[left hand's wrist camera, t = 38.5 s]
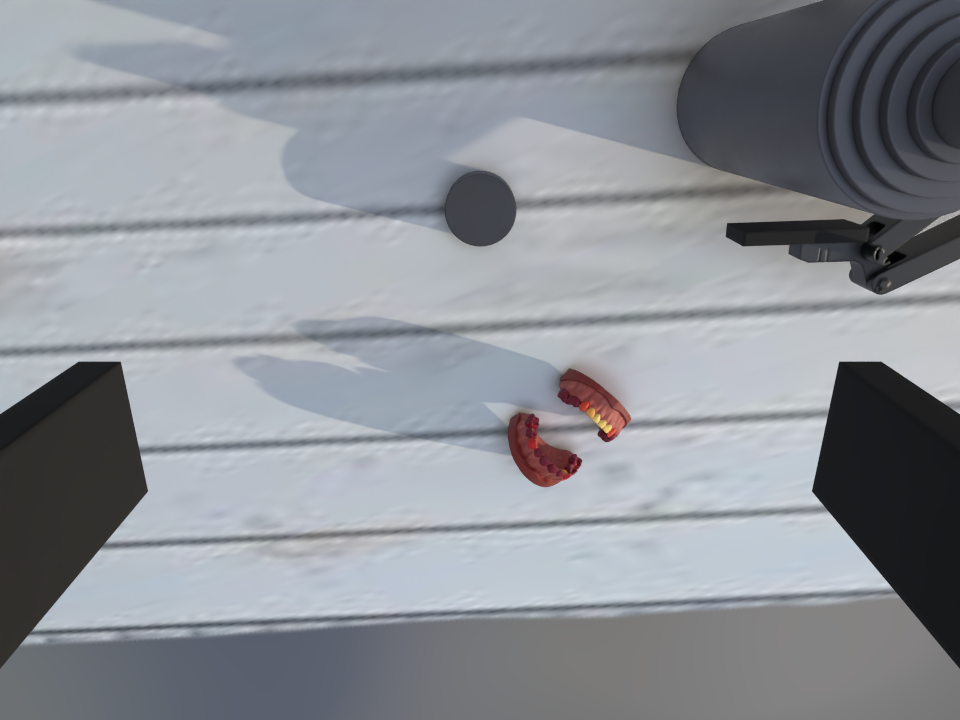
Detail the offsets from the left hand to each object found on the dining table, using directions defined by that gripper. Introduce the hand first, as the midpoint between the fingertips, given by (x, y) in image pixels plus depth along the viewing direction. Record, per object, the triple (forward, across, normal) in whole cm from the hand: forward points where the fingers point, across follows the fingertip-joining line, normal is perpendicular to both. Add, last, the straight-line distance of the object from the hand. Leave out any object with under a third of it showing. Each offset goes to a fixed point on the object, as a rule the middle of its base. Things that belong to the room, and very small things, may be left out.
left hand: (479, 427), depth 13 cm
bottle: (+32, +16, +5) cm, 36 cm away
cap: (+30, 0, -1) cm, 30 cm away
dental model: (+31, +6, -15) cm, 35 cm away
